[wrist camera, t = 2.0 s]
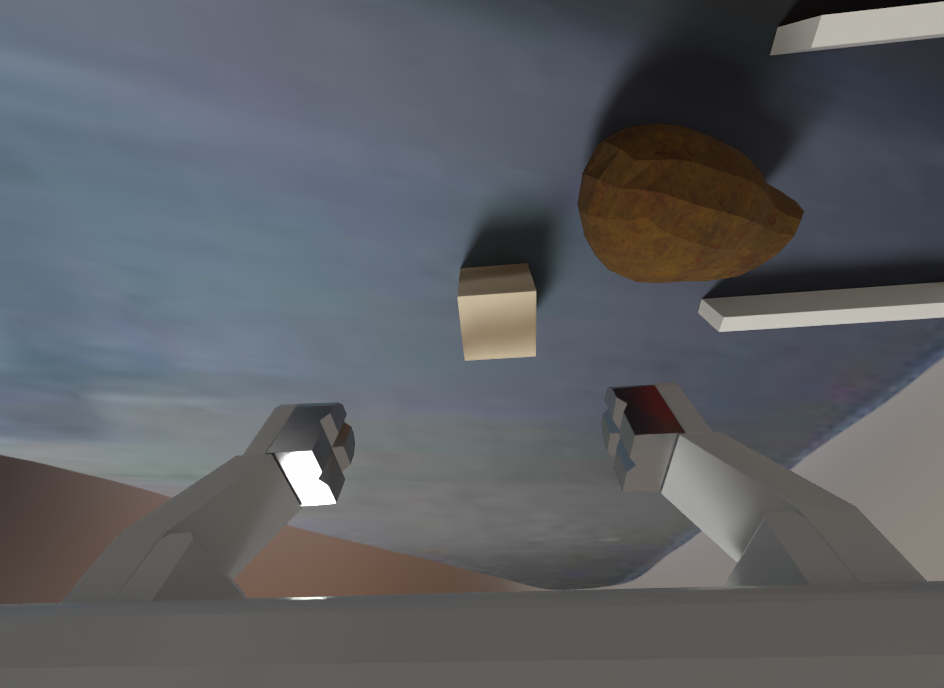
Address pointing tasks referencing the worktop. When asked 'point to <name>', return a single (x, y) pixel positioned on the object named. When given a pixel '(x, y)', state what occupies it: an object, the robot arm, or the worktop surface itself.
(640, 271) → the potato
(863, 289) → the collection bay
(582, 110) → the worktop surface
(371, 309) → the worktop surface
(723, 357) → the worktop surface
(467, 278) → the beech block
